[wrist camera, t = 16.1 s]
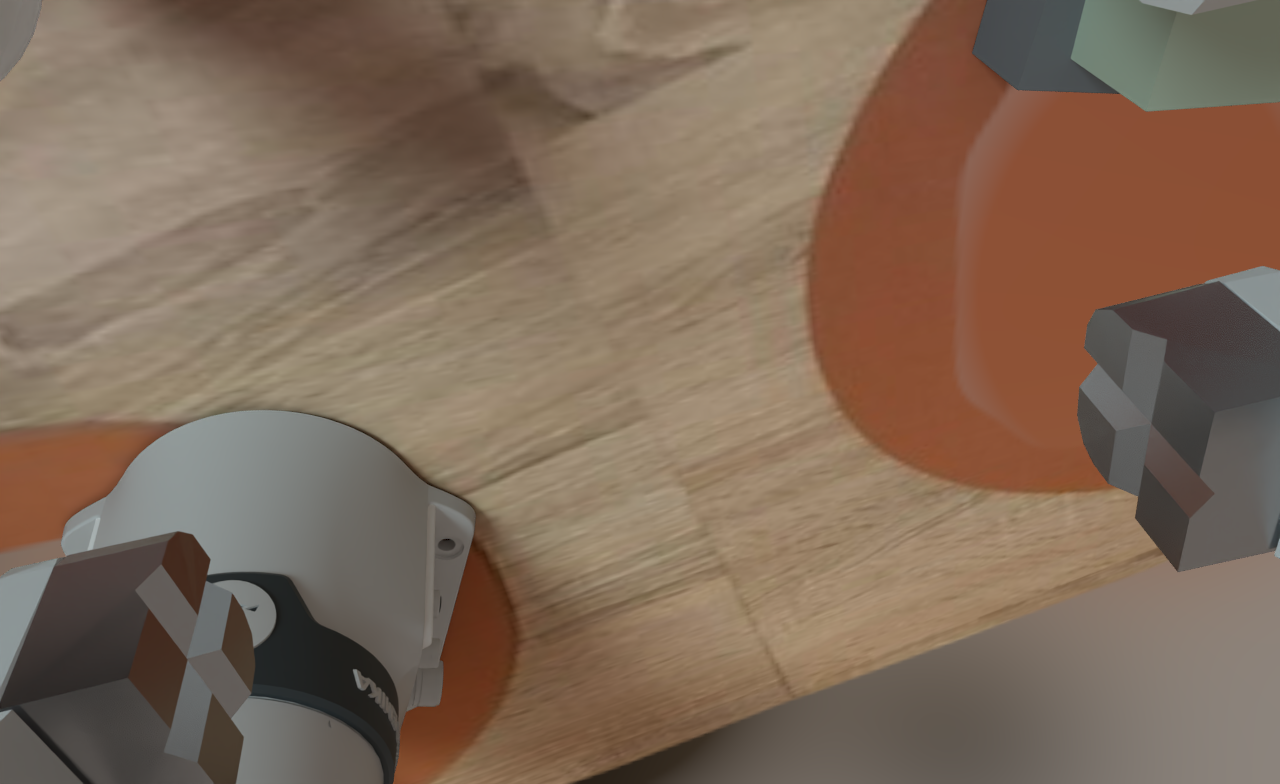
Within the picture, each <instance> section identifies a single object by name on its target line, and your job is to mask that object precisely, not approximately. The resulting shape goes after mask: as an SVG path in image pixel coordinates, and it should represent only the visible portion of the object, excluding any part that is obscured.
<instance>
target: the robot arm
mask: <svg viewBox="0 0 1280 784" xmlns="http://www.w3.org/2000/svg"><path fill="white" fill-rule="evenodd" d="M1084 348H1085V349H1086V350H1087V352H1088V353H1089V354H1090V355H1091V356H1092V357H1093V358H1094V359H1095V361H1096V362H1097V363H1098V364H1097V366H1096V367H1095V368H1094V369H1093V371H1092V372H1091V373H1090V374H1089V376H1088V377H1087V378H1086V379H1085V381H1084V382H1083V383H1082V384H1081V386H1080V387H1079V400H1078V413H1077V416H1078V421H1079V425H1080V430H1081V434H1082V439H1083V443H1084V445H1085V447H1086V450H1087V452H1088V454H1089V456H1090V458H1091V460H1092V462H1093V464H1094V465H1095V467H1096V468H1097V469H1098V471H1099V472H1100V473H1101V475H1102V476H1103V477H1104V479H1105V480H1106V481H1107V483H1108V484H1110V485H1113V486H1115V487H1117V488H1120V489H1122V490H1124V491H1127V492H1129V493H1131V494H1134V495H1136V496H1138V502H1137V509H1136V515H1135V519H1136V520H1137V521H1138V522H1139V524H1140V525H1141V526H1142V527H1143V529H1144V530H1145V531H1146V532H1147V534H1148V535H1149V536H1150V538H1151V539H1152V540H1153V541H1154V543H1155V544H1156V545H1157V546H1158V548H1159V549H1160V550H1161V551H1162V553H1163V554H1164V555H1165V556H1166V558H1167V559H1168V560H1169V562H1170V563H1171V564H1172V565H1173V566H1174V568H1175V569H1176V570H1177V572H1180V571H1185V570H1190V569H1194V568H1199V567H1203V566H1208V565H1213V564H1217V563H1222V562H1226V561H1231V560H1235V559H1240V558H1245V557H1249V556H1254V555H1258V554H1263V553H1267V552H1272V551H1275V555H1274V556H1276V557H1277V558H1279V559H1280V271H1279V270H1276V269H1272V268H1268V267H1264V266H1261V267H1257V268H1254V269H1250V270H1247V271H1242V272H1239V273H1235V274H1231V275H1227V276H1223V277H1220V278H1216V279H1212V280H1208V281H1206V282H1205V283H1204V284H1199V285H1194V286H1190V287H1186V288H1182V289H1178V290H1174V291H1170V292H1166V293H1162V294H1157V295H1154V296H1150V297H1145V298H1141V299H1137V300H1133V301H1129V302H1125V303H1121V304H1117V305H1113V306H1109V307H1105V308H1101V309H1097V310H1095V312H1094V314H1093V316H1092V318H1091V319H1090V321H1089V323H1088V325H1087V332H1086V340H1085V346H1084ZM475 520H476V515H475V512H474V510H473V508H472V507H471V506H470V505H469V504H467V503H466V502H465V501H463V500H461V499H459V498H457V497H455V496H453V495H451V494H449V493H447V492H444V491H442V490H440V489H437V488H435V487H432V486H430V485H428V484H426V483H425V482H424V481H422V480H421V479H420V478H419V477H418V476H416V475H415V474H414V473H413V472H412V471H411V470H410V469H409V468H408V467H407V466H406V465H405V464H404V463H403V462H402V461H401V460H400V459H399V458H398V457H397V456H396V455H395V454H394V453H393V452H391V451H390V450H389V449H388V448H386V447H385V446H384V445H382V444H381V443H379V442H378V441H376V440H374V439H373V438H371V437H369V436H367V435H366V434H364V433H362V432H360V431H358V430H355V429H353V428H351V427H349V426H346V425H344V424H341V423H338V422H335V421H332V420H329V419H325V418H322V417H318V416H313V415H309V414H303V413H297V412H288V411H276V410H252V411H239V412H231V413H225V414H219V415H215V416H211V417H207V418H203V419H200V420H197V421H194V422H191V423H188V424H186V425H184V426H181V427H179V428H177V429H175V430H173V431H171V432H169V433H167V434H165V435H164V436H162V437H160V438H159V439H157V440H156V441H155V442H153V443H152V444H151V445H149V446H148V447H147V448H146V449H145V450H143V451H142V452H141V453H140V454H139V455H138V456H137V457H136V458H135V459H134V461H133V462H132V463H131V464H130V466H129V467H128V468H127V470H126V472H125V473H124V475H123V476H122V478H121V479H120V481H119V482H118V484H117V485H116V487H115V488H114V489H113V490H112V492H111V493H110V494H109V495H108V496H107V497H105V498H103V499H101V500H99V501H97V502H95V503H93V504H92V505H90V506H88V507H86V508H84V509H83V510H81V511H80V512H78V513H77V514H75V515H74V516H73V517H71V518H70V519H69V520H68V521H67V523H66V524H65V527H64V531H63V536H62V540H61V546H62V549H63V551H64V553H65V555H66V557H64V558H57V559H52V560H48V561H44V562H39V563H34V564H30V565H26V566H21V567H16V568H12V569H10V570H9V571H8V572H6V573H5V574H3V575H2V576H1V577H0V784H393V781H394V773H395V769H396V766H397V762H398V757H399V745H400V730H401V727H402V723H403V720H404V717H405V714H406V712H407V711H409V710H411V709H413V708H415V707H418V706H426V707H435V706H436V705H439V704H440V700H441V694H442V686H443V661H440V657H441V653H442V650H443V646H444V642H445V639H446V635H447V631H448V627H449V624H450V620H451V616H452V613H453V609H454V605H455V602H456V598H457V594H458V591H459V587H460V583H461V579H462V576H463V572H464V568H465V565H466V561H467V557H468V554H469V550H470V546H471V543H472V539H473V535H474V529H475ZM443 539H451V540H448V541H444V540H443Z"/></svg>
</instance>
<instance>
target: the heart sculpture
mask: <svg viewBox="0 0 1280 784" xmlns="http://www.w3.org/2000/svg"><path fill="white" fill-rule="evenodd" d="M1139 1H1141V2H1142V3H1144V4H1148V5H1152V6H1156V7H1160V8H1165V9H1169V10H1173V11H1177V12H1181V13H1185V14H1189V15H1194V14H1198V13H1202V12H1207V11H1211V10H1216V9H1220V8H1225V7H1229V6H1233V5H1238V4H1242V3H1247V2H1251V1H1256V0H1139Z"/></svg>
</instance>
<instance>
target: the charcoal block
mask: <svg viewBox="0 0 1280 784" xmlns="http://www.w3.org/2000/svg"><path fill="white" fill-rule="evenodd" d="M1084 4H1085V0H987V3H986V7H985V10H984V14H983V17H982V21H981V24H980V27H979V31H978V34H977V38H976V41H975V45H974V48H973V52H972V53H973V54H974V55H975V56H976V57H977V58H979V59H980V60H981V61H982V62H984V63H985V64H986V65H987V66H989V67H990V68H991V69H992V70H993V71H995V72H996V73H997V74H998V75H1000V76H1001V77H1002V78H1003V79H1004V80H1006V81H1007V82H1008V83H1009V84H1011V85H1012V86H1013V87H1014V88H1015V89H1017V90H1031V91H1058V92H1085V93H1113V94H1114V93H1115V94H1120V93H1119V92H1117V91H1116V90H1115V89H1113V88H1112V87H1110V86H1109V85H1107V84H1106V83H1105V82H1103V81H1102V80H1100V79H1099V78H1097V77H1096V76H1095V75H1093V74H1092V73H1090V72H1089V71H1087V70H1086V69H1085V68H1083V67H1082V66H1080V65H1079V64H1077V63H1076V62H1074V61H1073V60H1072V59H1071V55H1072V51H1073V47H1074V43H1075V39H1076V35H1077V31H1078V27H1079V23H1080V20H1081V16H1082V12H1083V8H1084Z"/></svg>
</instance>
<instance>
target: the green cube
mask: <svg viewBox="0 0 1280 784" xmlns="http://www.w3.org/2000/svg"><path fill="white" fill-rule="evenodd" d="M1071 59H1072V60H1073V61H1074V62H1076V63H1077V64H1079V65H1080V66H1082V67H1083V68H1085V69H1086V70H1087V71H1089V72H1090V73H1092V74H1093V75H1095V76H1096V77H1097V78H1099V79H1100V80H1102V81H1103V82H1105V83H1106V84H1107V85H1109V86H1110V87H1112V88H1113V89H1115V90H1116V91H1117V92H1119V93H1120V94H1122V95H1123V96H1125V97H1126V98H1127V99H1129V100H1130V101H1132V102H1133V103H1135V104H1136V105H1138V106H1139V107H1140V108H1142V109H1143V110H1145V111H1159V110H1175V109H1189V108H1203V107H1217V106H1232V105H1245V104H1260V103H1272V102H1273V103H1274V102H1280V0H1256V1H1251V2H1247V3H1242V4H1238V5H1233V6H1229V7H1225V8H1220V9H1216V10H1211V11H1207V12H1202V13H1198V14H1194V15H1189V14H1185V13H1181V12H1177V11H1173V10H1169V9H1165V8H1160V7H1156V6H1152V5H1148V4H1144V3H1142V2H1141V1H1139V0H1085V4H1084V8H1083V12H1082V16H1081V20H1080V23H1079V27H1078V31H1077V35H1076V39H1075V43H1074V47H1073V51H1072V55H1071Z"/></svg>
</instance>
